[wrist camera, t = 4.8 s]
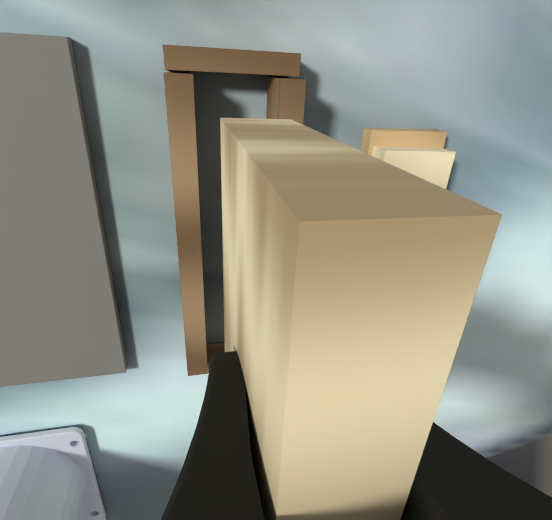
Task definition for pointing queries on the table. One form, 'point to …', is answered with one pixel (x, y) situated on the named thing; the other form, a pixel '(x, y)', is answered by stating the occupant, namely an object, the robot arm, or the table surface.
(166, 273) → the table surface
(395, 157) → the offcut top
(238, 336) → the wooden block
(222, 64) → the frame
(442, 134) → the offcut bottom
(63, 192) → the mat
